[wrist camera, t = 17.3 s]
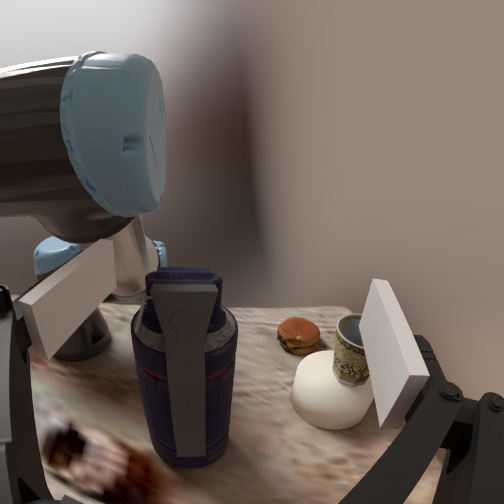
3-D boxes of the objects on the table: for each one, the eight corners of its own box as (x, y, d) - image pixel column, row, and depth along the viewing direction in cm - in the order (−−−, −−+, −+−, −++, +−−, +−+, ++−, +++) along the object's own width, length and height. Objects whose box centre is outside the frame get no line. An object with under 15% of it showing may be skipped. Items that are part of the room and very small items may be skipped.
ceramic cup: (314, 360, 57) (327, 316, 53) (360, 353, 59) (375, 310, 55) (344, 411, 45) (364, 367, 41) (393, 398, 48) (415, 355, 44)
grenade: (152, 413, 48) (133, 249, 36) (222, 412, 51) (233, 250, 39) (152, 482, 36) (111, 319, 24) (235, 480, 38) (258, 318, 26)
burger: (312, 329, 76) (316, 313, 74) (322, 354, 68) (327, 338, 66) (272, 329, 75) (274, 313, 73) (278, 356, 66) (282, 339, 64)
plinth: (275, 385, 58) (280, 363, 55) (336, 364, 64) (343, 342, 62) (320, 442, 46) (329, 421, 43) (382, 409, 52) (393, 388, 50)
